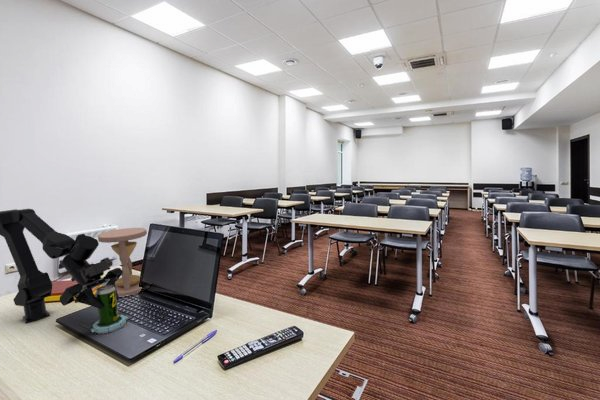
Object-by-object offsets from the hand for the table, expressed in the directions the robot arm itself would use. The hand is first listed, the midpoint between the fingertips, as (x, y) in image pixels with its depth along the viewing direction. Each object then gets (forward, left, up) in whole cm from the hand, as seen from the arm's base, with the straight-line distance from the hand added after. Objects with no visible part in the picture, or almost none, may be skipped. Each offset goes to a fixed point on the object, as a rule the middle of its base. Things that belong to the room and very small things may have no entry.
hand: (110, 304), depth 96 cm
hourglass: (-29, +16, -8) cm, 34 cm away
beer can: (-1, -1, -7) cm, 7 cm away
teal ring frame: (-1, 0, -8) cm, 8 cm away
